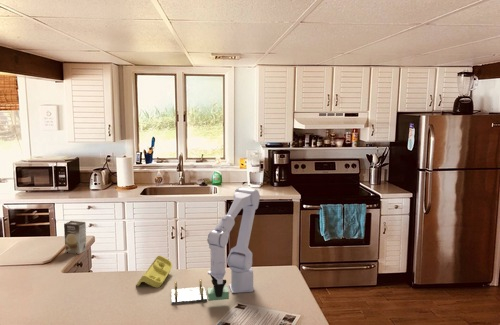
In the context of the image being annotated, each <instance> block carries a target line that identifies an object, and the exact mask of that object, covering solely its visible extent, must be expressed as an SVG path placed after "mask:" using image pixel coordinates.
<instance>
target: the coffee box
mask: <svg viewBox="0 0 500 325" xmlns="http://www.w3.org/2000/svg"><path fill="white" fill-rule="evenodd" d="M63 225H64V227H63V228H64V251H65V253H67V252H68V254H76V253H77V255H78V254H79V255H80V254H82V253H84V252H85V251H87V233H86V222H85V221H77V220H70V221H68V222H66V223H64V224H63Z"/></svg>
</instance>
